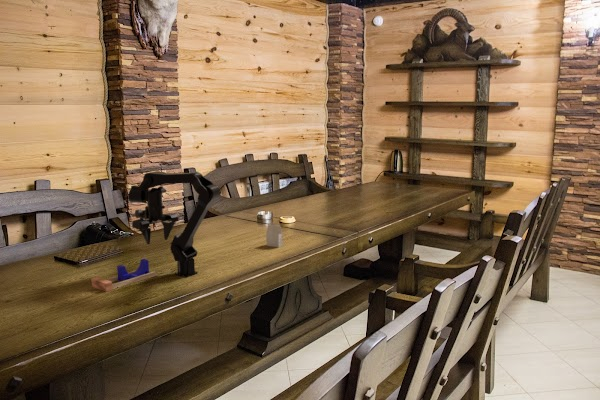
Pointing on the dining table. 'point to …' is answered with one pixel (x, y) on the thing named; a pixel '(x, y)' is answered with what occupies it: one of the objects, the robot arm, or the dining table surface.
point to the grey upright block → (274, 236)
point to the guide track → (107, 283)
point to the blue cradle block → (140, 271)
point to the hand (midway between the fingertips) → (157, 241)
